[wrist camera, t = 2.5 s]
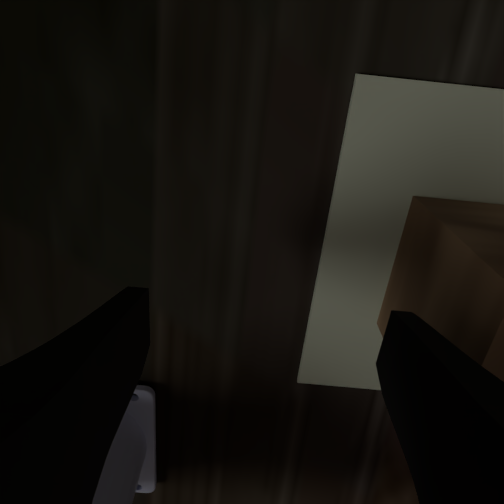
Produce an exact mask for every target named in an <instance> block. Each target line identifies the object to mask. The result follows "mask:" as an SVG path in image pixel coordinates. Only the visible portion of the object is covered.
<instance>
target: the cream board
mask: <svg viewBox="0 0 504 504" xmlns="http://www.w3.org/2000/svg"><path fill="white" fill-rule="evenodd" d="M413 196H420V197H431V198H441V199H451V200H461V201H471V202H481V203H491V204H501V205H504V89H496V88H486V87H477V86H467V85H458V84H449V83H439V82H430V81H420V80H411V79H401V78H392V77H383V76H373V75H364V74H355V79H354V84H353V90H352V95H351V100H350V105H349V110H348V116H347V121H346V126H345V131H344V137H343V142H342V147H341V152H340V157H339V163H338V168H337V173H336V178H335V184H334V189H333V194H332V199H331V204H330V210H329V215H328V220H327V225H326V231H325V236H324V241H323V246H322V251H321V257H320V262H319V267H318V272H317V277H316V283H315V288H314V293H313V298H312V304H311V309H310V314H309V319H308V324H307V330H306V335H305V340H304V345H303V351H302V356H301V361H300V366H299V371H298V377H297V383H306V384H317V385H329V386H340V387H352V388H363V389H375V390H381V387H380V382H379V378H378V373H377V368H376V361H377V357H378V354H379V350H380V347H381V344H382V340H383V337H382V335H381V332H380V330H379V328H378V325H377V320H378V317H379V313H380V310H381V306H382V303H383V299H384V295H385V292H386V288H387V285H388V281H389V278H390V274H391V271H392V267H393V264H394V260H395V257H396V253H397V250H398V246H399V243H400V239H401V236H402V232H403V229H404V225H405V222H406V218H407V215H408V211H409V207H410V204H411V200H412V197H413Z"/></svg>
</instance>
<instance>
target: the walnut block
mask: <svg viewBox="0 0 504 504" xmlns="http://www.w3.org/2000/svg"><path fill="white" fill-rule="evenodd" d="M391 310H396V311H407V312H413V313H414V314H416V315H417V316H418V317H420V318H421V319H422V320H424V321H425V322H426V323H428V324H429V325H430V326H431V327H433V328H434V329H435V330H436V331H438V332H439V333H440V334H441V335H443V336H444V337H445V338H446V339H448V340H449V341H450V342H451V343H453V344H454V345H455V346H456V347H458V348H459V349H460V350H461V351H463V352H464V353H465V354H466V355H468V356H469V357H470V358H472V359H473V360H474V361H476V362H477V363H478V364H480V365H481V366H482V367H484V368H485V369H486V370H488V371H489V372H491V373H492V374H493V375H495V376H496V377H498V378H499V379H500V380H502V381H503V382H504V205H501V204H491V203H481V202H471V201H461V200H451V199H441V198H431V197H420V196H413V197H412V200H411V204H410V207H409V211H408V215H407V218H406V222H405V225H404V229H403V232H402V236H401V239H400V243H399V246H398V250H397V253H396V257H395V260H394V264H393V267H392V271H391V274H390V278H389V281H388V285H387V288H386V292H385V295H384V299H383V303H382V306H381V310H380V313H379V317H378V320H377V325H378V328H379V330H380V332H381V335H382V337H384V334H385V330H386V327H387V323H388V320H389V317H390V313H391Z"/></svg>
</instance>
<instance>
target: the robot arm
mask: <svg viewBox="0 0 504 504" xmlns="http://www.w3.org/2000/svg"><path fill="white" fill-rule="evenodd" d="M149 346H150V326H149V288H138V287H127V288H125V289H124V290H122V291H121V292H119V293H118V294H117V295H115V296H114V297H113V298H111V299H110V300H109V301H107V302H106V303H105V304H103V305H102V306H101V307H99V308H98V309H97V310H95V311H94V312H92V313H91V314H90V315H88V316H87V317H85V318H84V319H83V320H81V321H80V322H78V323H77V324H75V325H73V326H72V327H70V328H69V329H67V330H66V331H64V332H63V333H61V334H60V335H58V336H56V337H55V338H53V339H52V340H50V341H48V342H47V343H45V344H43V345H42V346H40V347H38V348H36V349H34V350H33V351H31V352H29V353H27V354H25V355H23V356H21V357H19V358H17V359H15V360H13V361H11V362H9V363H7V364H5V365H3V366H1V367H0V504H132V502H133V498H134V495H135V492H141V493H150V492H153V491H154V490H155V487H156V483H157V481H156V412H155V391H154V390H153V389H152V388H151V387H149V386H144V385H137V384H138V381H139V379H140V376H141V374H142V371H143V367H144V364H145V360H146V357H147V353H148V349H149ZM376 368H377V373H378V378H379V382H380V387H381V391H382V395H383V398H384V401H385V403H386V406H387V409H388V412H389V415H390V417H391V420H392V423H393V425H394V428H395V431H396V433H397V436H398V439H399V441H400V444H401V447H402V449H403V452H404V455H405V458H406V460H407V463H408V466H409V469H410V472H411V475H412V478H413V481H414V484H415V488H416V492H417V495H418V499H419V503H420V504H504V382H503V381H502V380H500V379H499V378H498V377H496V376H495V375H493V374H492V373H491V372H489V371H488V370H486V369H485V368H484V367H482V366H481V365H480V364H478V363H477V362H476V361H474V360H473V359H472V358H470V357H469V356H468V355H466V354H465V353H464V352H463V351H461V350H460V349H459V348H458V347H456V346H455V345H454V344H453V343H451V342H450V341H449V340H448V339H446V338H445V337H444V336H443V335H441V334H440V333H439V332H438V331H436V330H435V329H434V328H433V327H431V326H430V325H429V324H428V323H426V322H425V321H424V320H422V319H421V318H420V317H418V316H417V315H416V314H414V313H413V312H407V311H396V310H391V313H390V317H389V320H388V323H387V327H386V330H385V334H384V337H383V340H382V344H381V347H380V350H379V354H378V357H377V361H376ZM133 394H136V395H133Z"/></svg>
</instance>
